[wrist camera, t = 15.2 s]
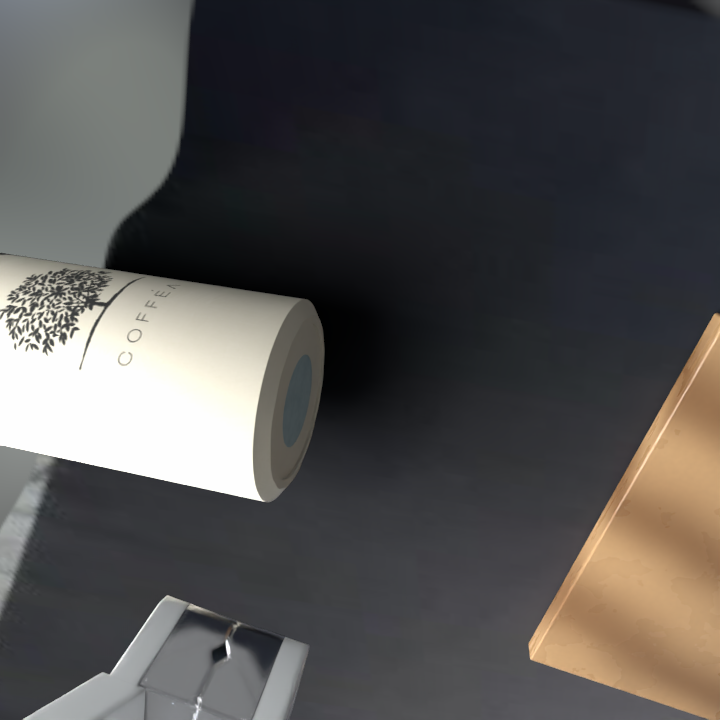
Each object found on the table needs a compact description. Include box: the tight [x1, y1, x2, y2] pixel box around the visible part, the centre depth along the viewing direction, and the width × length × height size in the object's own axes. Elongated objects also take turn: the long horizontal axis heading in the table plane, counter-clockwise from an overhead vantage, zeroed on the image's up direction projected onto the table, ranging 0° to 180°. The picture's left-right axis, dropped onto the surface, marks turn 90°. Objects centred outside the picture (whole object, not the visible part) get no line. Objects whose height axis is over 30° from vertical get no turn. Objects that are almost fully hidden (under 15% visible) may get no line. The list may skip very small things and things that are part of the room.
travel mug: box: [0, 253, 325, 502], centre depth 21 cm, size 8×8×18 cm
